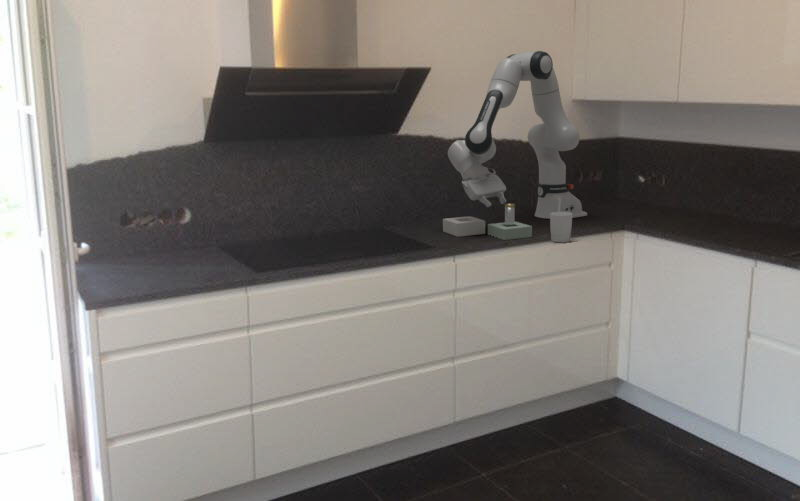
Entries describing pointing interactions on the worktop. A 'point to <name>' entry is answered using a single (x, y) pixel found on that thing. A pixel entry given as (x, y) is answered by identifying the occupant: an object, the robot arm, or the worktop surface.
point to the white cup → (560, 226)
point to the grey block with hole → (464, 226)
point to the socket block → (509, 231)
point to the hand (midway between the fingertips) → (497, 204)
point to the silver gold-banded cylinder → (509, 215)
